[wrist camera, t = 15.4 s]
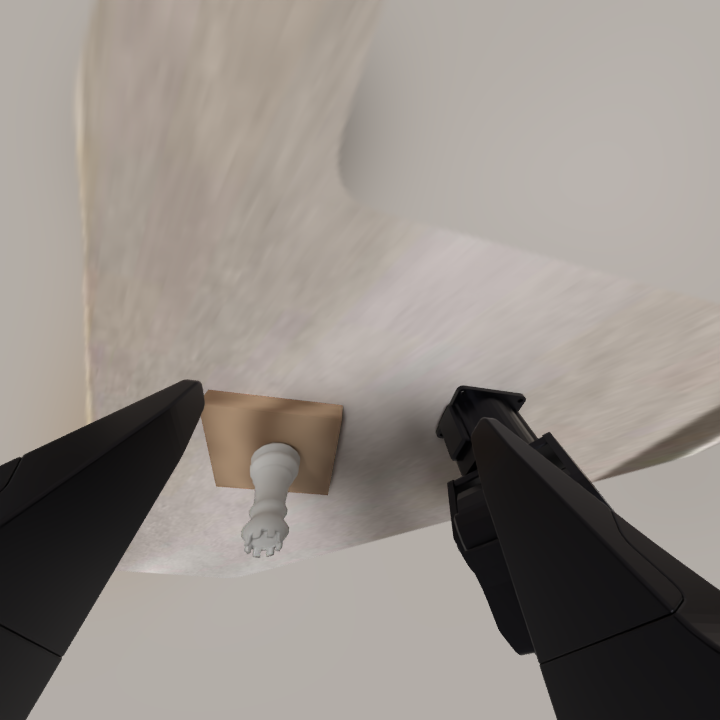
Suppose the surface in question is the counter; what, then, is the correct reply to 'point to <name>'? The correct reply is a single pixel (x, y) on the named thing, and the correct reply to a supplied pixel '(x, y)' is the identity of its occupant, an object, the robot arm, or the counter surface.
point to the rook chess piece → (270, 497)
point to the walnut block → (270, 437)
